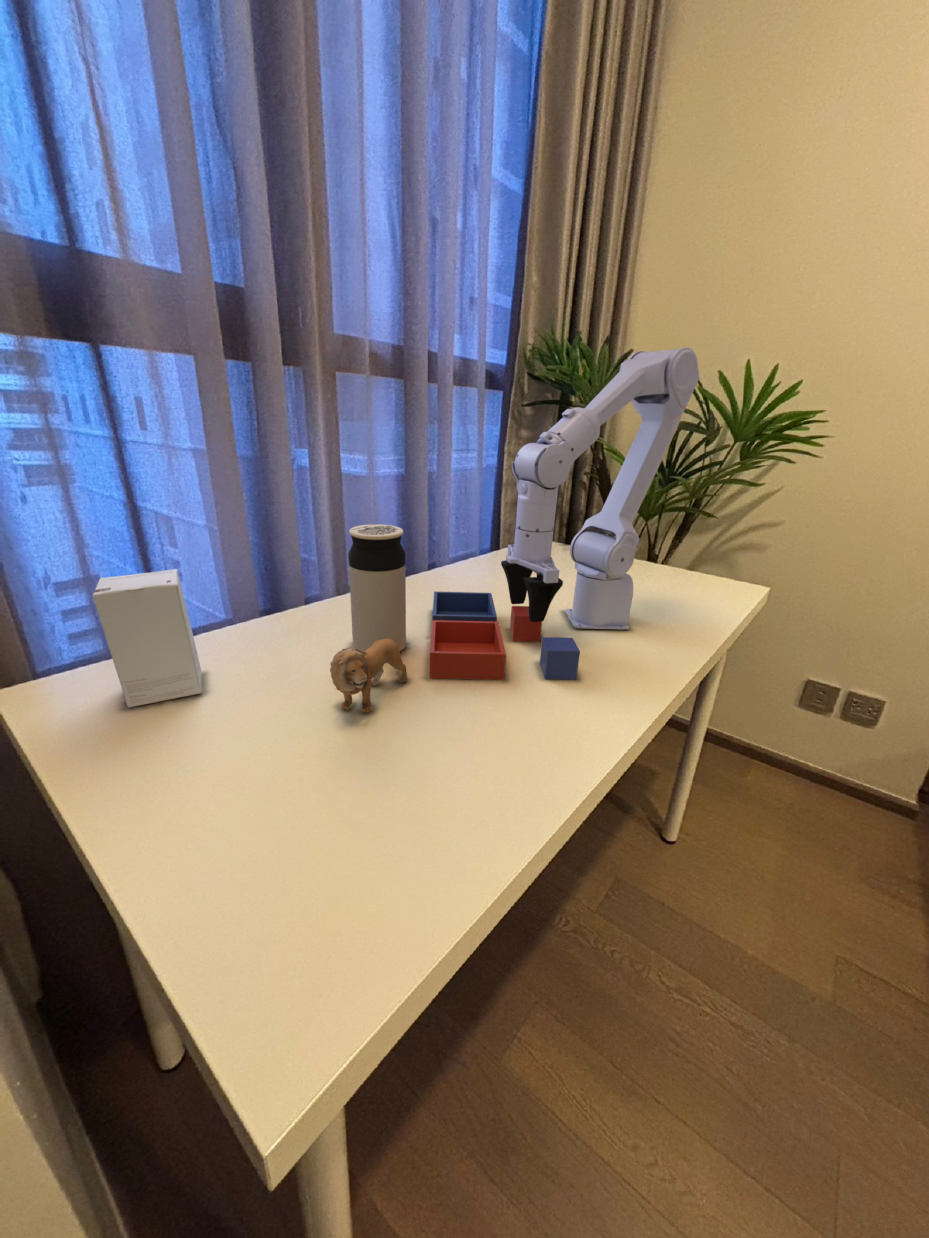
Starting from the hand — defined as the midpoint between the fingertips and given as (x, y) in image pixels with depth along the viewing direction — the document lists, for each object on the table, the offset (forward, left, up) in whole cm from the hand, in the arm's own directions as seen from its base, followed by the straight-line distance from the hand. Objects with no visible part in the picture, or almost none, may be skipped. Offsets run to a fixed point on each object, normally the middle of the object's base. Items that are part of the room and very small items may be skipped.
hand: (526, 611), depth 81 cm
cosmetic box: (+48, +19, -4) cm, 52 cm away
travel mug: (+23, +5, -4) cm, 24 cm away
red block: (0, 0, -4) cm, 4 cm away
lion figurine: (+22, +20, -4) cm, 30 cm away
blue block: (-3, +12, -4) cm, 13 cm away
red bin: (+10, +9, -4) cm, 14 cm away
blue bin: (+10, -4, -4) cm, 12 cm away
